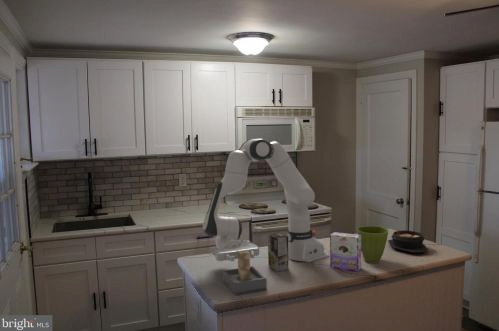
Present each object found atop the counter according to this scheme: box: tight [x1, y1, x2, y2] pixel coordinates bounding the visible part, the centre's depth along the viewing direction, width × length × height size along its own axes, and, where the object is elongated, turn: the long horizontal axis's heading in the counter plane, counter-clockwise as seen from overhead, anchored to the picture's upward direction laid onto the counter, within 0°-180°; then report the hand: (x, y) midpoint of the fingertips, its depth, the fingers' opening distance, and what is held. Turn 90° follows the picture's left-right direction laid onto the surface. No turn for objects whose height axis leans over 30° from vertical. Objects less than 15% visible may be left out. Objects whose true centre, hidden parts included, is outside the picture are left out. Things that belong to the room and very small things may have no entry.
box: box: [222, 265, 268, 296], centre depth 178 cm, size 14×16×5 cm
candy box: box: [329, 231, 362, 272], centre depth 196 cm, size 14×6×16 cm, turn 59°
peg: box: [237, 250, 251, 282], centre depth 177 cm, size 4×4×14 cm
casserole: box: [387, 230, 430, 254], centre depth 224 cm, size 25×19×8 cm
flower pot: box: [356, 225, 389, 264], centre depth 206 cm, size 15×15×16 cm
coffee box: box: [267, 232, 290, 272], centre depth 199 cm, size 9×6×16 cm
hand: (242, 257), depth 178 cm, fingers open, 8 cm apart
